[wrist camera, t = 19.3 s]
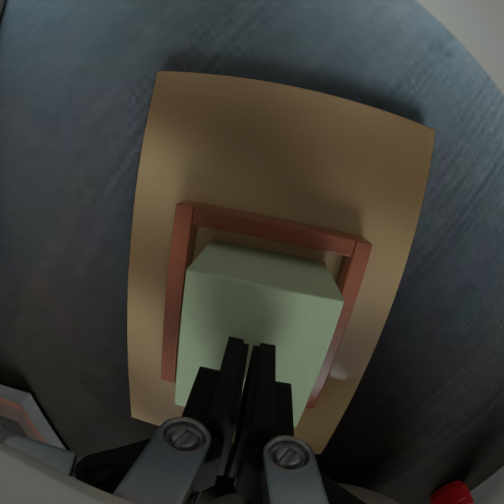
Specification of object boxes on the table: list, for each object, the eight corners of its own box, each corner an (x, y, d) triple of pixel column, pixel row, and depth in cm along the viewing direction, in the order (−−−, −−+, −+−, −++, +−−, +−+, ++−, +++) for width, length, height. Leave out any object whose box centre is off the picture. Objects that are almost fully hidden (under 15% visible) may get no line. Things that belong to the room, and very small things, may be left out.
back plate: (165, 76, 14) (146, 61, 11) (426, 131, 13) (451, 127, 11) (136, 407, 20) (123, 430, 17) (319, 443, 19) (322, 469, 17)
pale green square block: (211, 238, 14) (186, 268, 10) (325, 261, 14) (345, 300, 10) (196, 351, 16) (174, 404, 12) (293, 370, 16) (296, 428, 12)
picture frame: (117, 506, 26) (33, 391, 21) (112, 519, 24) (19, 405, 19) (36, 476, 28) (-37, 368, 23) (30, 486, 26) (-48, 377, 20)
